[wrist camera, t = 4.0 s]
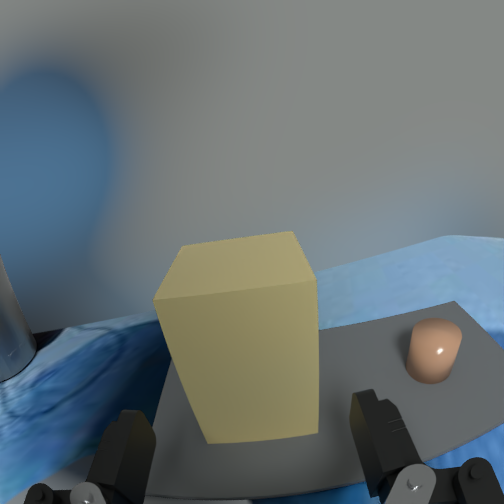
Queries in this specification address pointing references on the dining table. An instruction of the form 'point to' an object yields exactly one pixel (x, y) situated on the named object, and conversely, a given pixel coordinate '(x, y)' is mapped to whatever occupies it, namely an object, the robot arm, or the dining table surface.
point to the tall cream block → (244, 336)
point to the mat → (336, 415)
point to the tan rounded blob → (433, 350)
